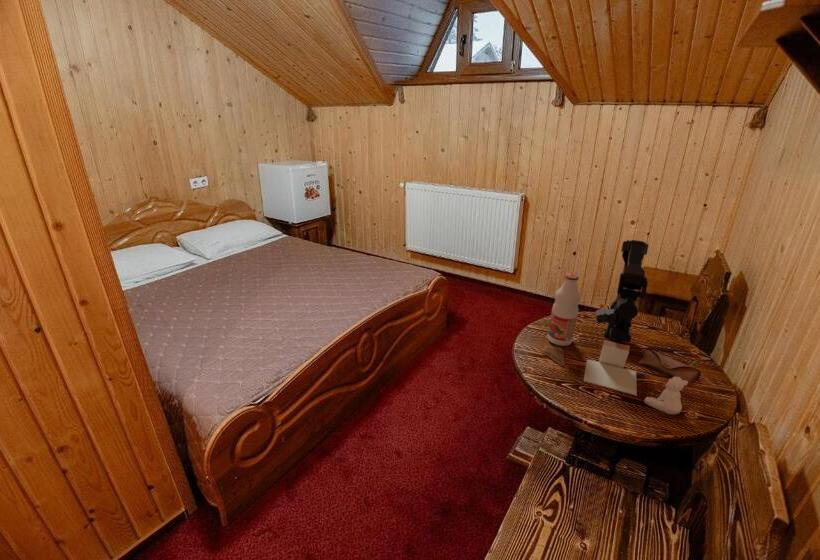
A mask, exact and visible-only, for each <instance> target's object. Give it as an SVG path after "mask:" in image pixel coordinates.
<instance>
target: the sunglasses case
mask: <svg viewBox="0 0 820 560" xmlns="http://www.w3.org/2000/svg"><path fill="white" fill-rule="evenodd" d="M637 364H639V365H643V366H644V367H647V368H650V369H652V370H654V371H657V372H659V373H661V374H664V375H665V376H668V377H671V379H672V378H673V377H679V378H681V379H682V380H683V381H688V384H687V385H686V386H690V387H692V386H693V384H694V383H695V382H696V381H697V380H698V379H700V377H701V374H702V373H701V370H700V369H698V368H696V367H693V366H691V365H687V364H685V363H683V362H680V361H677V360H675V359H673V358H671V357H669V356H666V355H664V354H661V353H658V352H656V351H655V350H653V349H650V348H647V349H646V351H645V352H644V354H643V355H642V357H641V358H640V360H639V361H638V362H637Z"/></svg>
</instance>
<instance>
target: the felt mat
mask: <svg viewBox="0 0 820 560" xmlns="http://www.w3.org/2000/svg"><path fill="white" fill-rule="evenodd" d="M583 382H584V383H589V384H592V385H596V386H598V387H599V386H600V387H604V388H606V389H610V390H613V391H617V392H621V393H625V394H629V395H632V396H636V397H637V394H638V393H637V391H638V389H637V388H638V387H637V371H634V370H631V369H627V368H624V367H623V368H620V367H616V366H612V365H608V364H604V363H600V362H599V361H595V360H592V359H588V358H587V359H586V363H585V369H584V376H583Z"/></svg>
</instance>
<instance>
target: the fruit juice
mask: <svg viewBox="0 0 820 560" xmlns="http://www.w3.org/2000/svg"><path fill="white" fill-rule="evenodd" d="M579 277H580V276H579V275H578V274H577V273H573V272H566V273H565V274H564V281H563V283H562V284H561V286H560V287H559V288H558V289H557V290H556V291H555V295H554V302H553V305H552V308H551V313H550V314H551V315H550V318H549V319H550V320H549V324H548V325H549V326H548V330H547V331H548V332H547V340H548V341H549V343H550V342H551V344H554V345H555V346H560V347H561V346H565V347H566V346H569V345H571V344H572V342H573V339H574V335H575V334H574V333H575V330H576V325H577V321H578V316H579V307H578V306H579V303H580V302H581V297H582V296H581V294H580V291H579V290H578V283H577V282H578V281H579V279H580V278H579Z"/></svg>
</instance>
